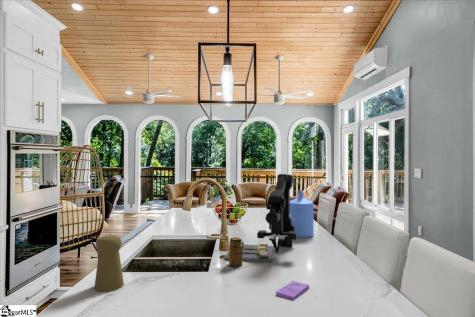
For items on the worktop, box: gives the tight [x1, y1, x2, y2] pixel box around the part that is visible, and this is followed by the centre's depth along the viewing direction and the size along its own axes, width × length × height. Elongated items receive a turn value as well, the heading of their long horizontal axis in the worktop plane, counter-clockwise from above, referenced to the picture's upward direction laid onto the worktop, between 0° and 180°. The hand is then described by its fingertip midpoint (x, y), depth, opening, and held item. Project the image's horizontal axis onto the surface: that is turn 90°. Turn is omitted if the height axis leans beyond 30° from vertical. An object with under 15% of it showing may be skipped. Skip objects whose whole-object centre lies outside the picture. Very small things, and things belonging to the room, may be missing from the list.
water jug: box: [290, 190, 315, 239], centre depth 198 cm, size 16×16×28 cm
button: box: [259, 250, 268, 257], centre depth 148 cm, size 4×4×2 cm
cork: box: [93, 234, 125, 293], centre depth 119 cm, size 10×10×19 cm
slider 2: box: [257, 246, 266, 254], centre depth 153 cm, size 4×3×3 cm
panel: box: [224, 241, 275, 263], centre depth 158 cm, size 22×23×4 cm
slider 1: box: [258, 242, 269, 250], centre depth 160 cm, size 4×3×3 cm
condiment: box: [225, 237, 247, 269], centre depth 142 cm, size 7×8×12 cm
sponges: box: [275, 280, 310, 301], centre depth 113 cm, size 7×13×2 cm, turn 142°
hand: (276, 252), depth 152 cm, fingers closed
